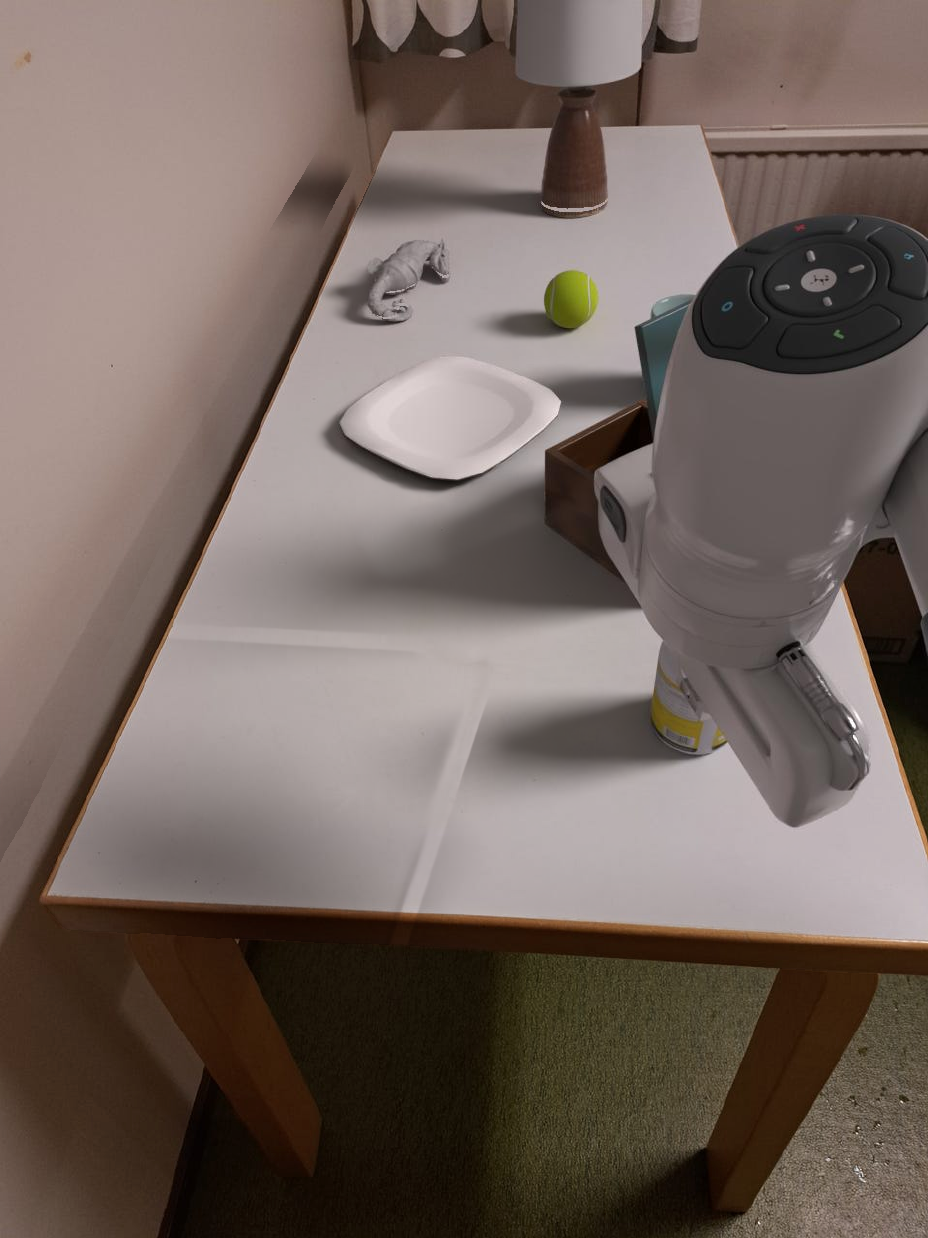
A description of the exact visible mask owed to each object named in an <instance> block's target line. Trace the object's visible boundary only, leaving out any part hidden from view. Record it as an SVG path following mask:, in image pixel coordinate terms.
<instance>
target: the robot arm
mask: <svg viewBox="0 0 928 1238" xmlns="http://www.w3.org/2000/svg"><path fill="white" fill-rule="evenodd" d="M694 295H695V297H694V298H693V300H692V302H691V304H690V306H689V308H688V309H687V312H686V314H685V316H684V318H683V321H682V323H681V326H680V328H679V331H678V334H677V337H676V340H675V343H674V346H673V349H672V353H671V356H670V360H669V364H668V367H667V371H666V375H665V380H664V384H663V388H662V393H661V398H660V403H659V408H658V414H657V420H656V427H655V433H654V441H653V443H652V444H650V445H647V446H645V447H642V448H640V449H637V450H635V451H633V452H631V453H628V454H626V455H624V456H622V457H620V458H618V459H616V460H614V461H612V462H610V463H608V464H606V465H604V466H602V467H601V468H599V469H597V470H596V471H595V474H594V489H595V495H596V497H597V499H598V522H599V532H600V536H601V539H602V542H603V544H604V547H605V549H606V551H607V553H608V555H609V557H610V558H611V560H612V561H613V563H614V564H615V566H616V567H617V569H618V570H619V572H620V573H621V575H622V577H623V578H624V580H625V581H626V583H625V584H627V586H628V588H629V589H630V591H631V592H632V594H633V596H634V598H635V599H636V600H637V602H638V604H639V605H640V607H641V609H642V611H643V614H644V617H645V618H646V620H647V622H648V623H649V625H650V626H651V628H652V629H653V631H655V633H656V634H657V635H658V636H659V637H660V638H661V640H662V642H663V641H664V643H665V644H666V646H667V647H668V649H669V651H670V652H671V654H672V656H673V660H674V663H675V666H676V669H677V676H676V681H675V682H676V683H677V685H678V686H679V688H680V690H681V691H682V693H683V694H684V696H685V697H686V699H687V700H688V702H689V704H690V705H691V707H692V709H693V710H694V712H695V713H696V715H697V717H698V718H699V720H700V721H704V720H707V719H709V718H711V717H712V718H713V720H714V721H715V723H716V725H717V726H718V728H719V729H720V731H721V732H722V734H723V736H724V737H725V739H726V740H727V742H728V743H727V744H728V745H729V747H730V748H731V750H732V751H733V753H734V755H735V757H736V758H737V759H738V761H739V763H740V764H741V765H742V768H743V769H744V770H745V772H746V773H747V775H748V777H749V778H750V780H751V781H752V783H753V784H754V786H755V788H756V789H757V791H758V792H759V794H760V795H761V797H762V799H763V800H764V802H765V804H766V805H767V807H768V809H769V810H770V812H772V814H773V816H774V817H775V818H776V819H777V820H778V821H779V822H781V823H783V824H784V825H786V826H788V827H790V828H794V829H796V828H800V827H803V826H806V825H808V824H810V823H813V822H815V821H818V820H819V819H822V818H824V817H826V816H828V815H830V814H832V813H834V812H836V811H838V810H840V809H842V808H843V807H845V806H846V805H848V804H849V803H850V802H851V801H852V799H853V798H854V797H855V795H856V793H857V791H858V790H859V788H860V785H861V783H862V782H863V781H864V780H865V779H866V777H867V776H868V774H870V771H871V761H870V757H871V752H872V750H871V749H872V748H871V746H872V744H871V743H872V742H871V737H870V733H869V730H868V728H867V725H866V723H865V721H864V719H863V717H862V716H861V714H860V712H859V710H858V709H857V708H856V706H855V704H853V702H852V701H851V699H850V698H849V697H848V695H847V694H846V693H845V692H844V691H845V690H843V689H842V687H841V686H840V685H839V683H838V682H837V681H836V679H835V678H834V677H833V675H832V674H831V672H830V671H829V670H828V669H827V667H826V665H824V663H823V662H822V661H821V659H820V658H819V656H818V654H817V653H816V652H815V651H814V650H813V648H812V647H811V645H810V643H811V642H812V641H813V640H814V639H815V638H816V636H817V634H818V633H819V632H820V630H821V628H822V627H823V625H824V623H825V620H826V619H827V616H828V614H829V612H830V610H831V609H832V606H833V605H834V602H835V600H836V598H837V596H838V594H839V592H840V590H841V587H842V586H843V584H844V582H845V580H846V578H847V577H848V574H849V572H850V570H851V568H852V566H853V563H854V561H855V559H856V557H857V555H858V553H859V551H860V550H861V548H863V547H864V546H865V545H867V544H868V543H870V542H872V541H874V540H879V539H887V538H888V539H889V538H894V540H895V543H896V545H897V548H898V551H899V554H900V558H901V561H902V563H903V565H904V568H905V571H906V574H907V577H908V580H909V583H910V586H911V588H912V591H913V594H914V597H915V601H916V603H917V606H918V609H919V612H920V615H921V616H922V617H921V620H920V622H919V623H920V628H921V633H922V636H923V637H922V638H923V642H924V645H925V646H924V647H925V650H926V653H927V655H928V238H927V236H925V235H923V234H922V233H920V232H919V231H917V230H915V229H914V228H912V227H910V226H908V225H905V224H903V223H900V222H897V221H894V220H890V219H887V218H882V217H879V216H871V215H864V214H847V213H846V214H840V213H839V214H827V215H818V216H811V217H806V218H801V219H797V220H793V221H790V222H786V223H783V224H780V225H777V226H774V227H772V228H770V229H768V230H766V231H762V232H761V233H759V234H758V235H755V236H754V237H752V238H750V239H748V240H747V241H745V242H744V243H742V244H741V245H739V246H738V247H736V248H735V249H734V250H733V251H731V252H730V253H729V254H728V255H727V256H726V257H725V258H724V259H722V261H721V262H720V263H719V264H718V265H717V266H716V267H715V268H714V269H713V271H712V272H711V273H710V274H709V275H708V276H707V278H706V279H705V281H703V283H702V285H701V286H700V288H699V289H698V290H697V292H696V293H695V294H694Z"/></svg>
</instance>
